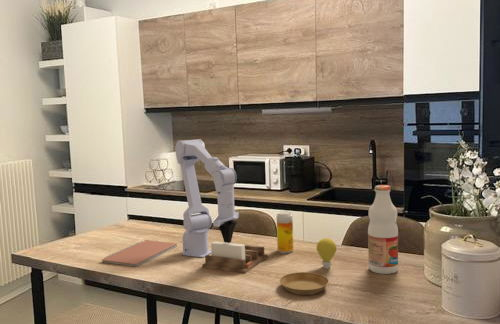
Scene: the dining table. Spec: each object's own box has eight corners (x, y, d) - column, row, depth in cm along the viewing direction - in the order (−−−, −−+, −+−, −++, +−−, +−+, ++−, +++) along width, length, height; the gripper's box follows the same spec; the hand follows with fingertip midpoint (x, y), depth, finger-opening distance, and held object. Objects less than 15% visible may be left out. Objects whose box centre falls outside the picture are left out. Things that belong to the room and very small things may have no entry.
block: (212, 262, 162) (211, 243, 161) (215, 260, 164) (214, 241, 163) (242, 266, 156) (241, 246, 156) (245, 264, 159) (244, 244, 158)
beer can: (292, 253, 172) (291, 214, 170) (276, 253, 173) (275, 214, 172) (294, 249, 178) (293, 211, 176) (278, 248, 179) (277, 211, 177)
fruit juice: (369, 264, 157) (368, 183, 154) (398, 266, 154) (397, 183, 152) (367, 273, 148) (366, 188, 145) (398, 275, 146) (397, 188, 143)
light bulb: (338, 264, 158) (337, 236, 157) (335, 271, 152) (334, 241, 151) (318, 263, 160) (318, 235, 159) (315, 269, 154) (314, 240, 153)
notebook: (144, 243, 195) (144, 239, 195) (178, 247, 188) (177, 242, 188) (99, 263, 170) (99, 258, 170) (136, 268, 164) (135, 263, 163)
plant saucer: (288, 277, 148) (288, 269, 148) (333, 282, 143) (333, 274, 142) (273, 294, 135) (272, 286, 134) (322, 301, 129) (322, 292, 129)
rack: (202, 267, 161) (201, 256, 160) (227, 252, 177) (226, 242, 176) (245, 273, 153) (245, 261, 153) (267, 257, 169) (267, 246, 169)
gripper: (225, 208, 150) (227, 249, 151) (245, 200, 162) (247, 237, 164) (207, 207, 153) (209, 247, 154) (228, 199, 166) (230, 236, 167)
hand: (227, 242), depth 159 cm, fingers closed
